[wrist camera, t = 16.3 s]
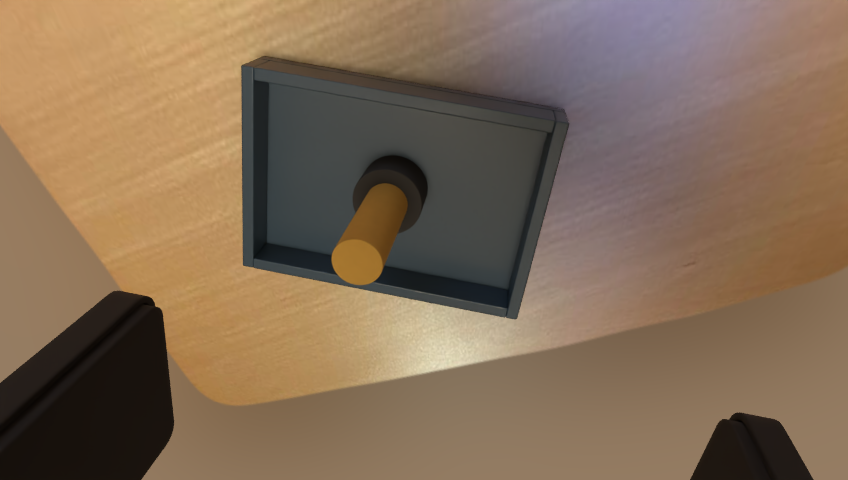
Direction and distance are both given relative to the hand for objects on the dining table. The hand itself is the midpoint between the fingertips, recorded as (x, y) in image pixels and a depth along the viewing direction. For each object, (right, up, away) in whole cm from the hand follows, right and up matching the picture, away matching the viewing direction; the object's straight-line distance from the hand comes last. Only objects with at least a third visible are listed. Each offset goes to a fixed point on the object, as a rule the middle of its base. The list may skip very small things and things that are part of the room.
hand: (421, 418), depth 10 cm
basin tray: (-2, +6, +25) cm, 26 cm away
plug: (-2, +6, +25) cm, 25 cm away
